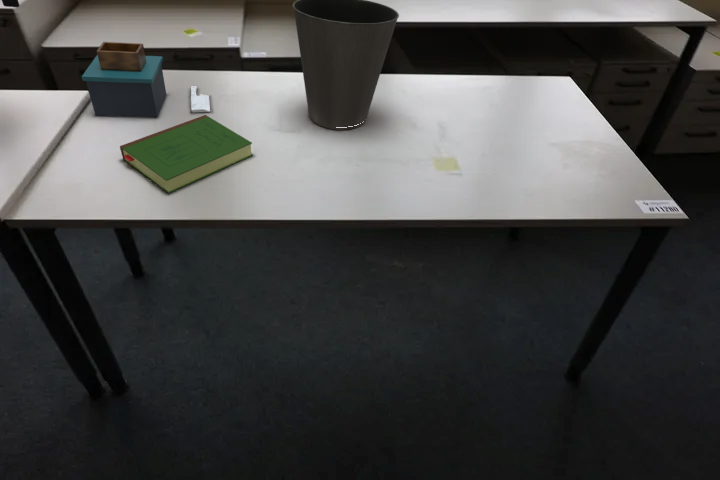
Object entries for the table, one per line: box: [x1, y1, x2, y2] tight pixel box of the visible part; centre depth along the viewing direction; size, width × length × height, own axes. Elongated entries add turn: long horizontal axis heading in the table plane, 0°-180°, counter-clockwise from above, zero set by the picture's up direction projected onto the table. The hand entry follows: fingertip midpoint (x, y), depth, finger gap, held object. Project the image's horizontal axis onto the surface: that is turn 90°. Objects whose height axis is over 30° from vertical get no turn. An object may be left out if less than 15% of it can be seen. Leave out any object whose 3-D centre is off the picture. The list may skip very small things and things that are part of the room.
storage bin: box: [81, 54, 167, 119], centre depth 141 cm, size 17×15×11 cm
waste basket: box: [292, 0, 400, 131], centre depth 140 cm, size 27×20×30 cm
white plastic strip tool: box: [190, 85, 211, 113], centre depth 149 cm, size 5×15×1 cm, turn 14°
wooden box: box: [96, 41, 146, 72], centre depth 135 cm, size 10×6×5 cm, turn 96°
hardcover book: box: [119, 114, 254, 194], centre depth 126 cm, size 25×19×4 cm
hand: (3, 13), depth 113 cm, fingers open, 9 cm apart
